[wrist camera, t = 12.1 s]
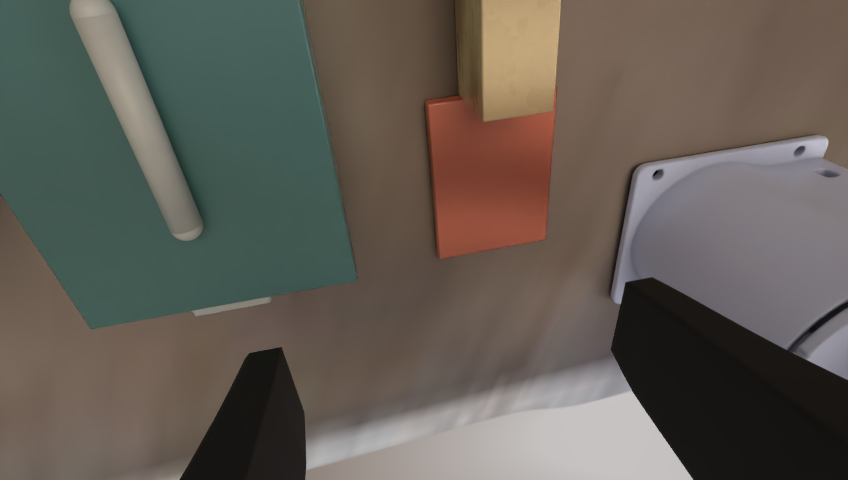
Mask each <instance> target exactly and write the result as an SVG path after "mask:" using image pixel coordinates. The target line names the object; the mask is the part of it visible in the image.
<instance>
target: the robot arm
mask: <svg viewBox="0 0 848 480" xmlns="http://www.w3.org/2000/svg"><path fill="white" fill-rule="evenodd" d="M828 143H829V142H828V139H827V138H826V137H824V136H821V135H812V136H806V137H800V138H794V139H788V140H782V141H776V142H770V143H764V144H758V145H752V146H745V147H739V148H733V149H727V150H721V151H715V152H709V153H703V154H697V155H691V156H685V157H679V158H673V159H667V160H661V161H655V162H649V163H644V164H641V165H640V166H638V167H637V168H636V169H635V171H634V173H633V176H632V182H631V187H630V192H629V198H628V203H627V209H626V214H625V219H624V225H623V230H622V236H621V241H620V246H619V252H618V257H617V262H616V268H615V273H614V279H613V284H612V289H611V299H612V300H613V301H614V302H615V303H616V304H621V305H620V310H619V315H618V319H617V324H616V328H615V333H614V338H613V342H612V347H611V351H612V353H613V355H614V357H615V359H616V361H617V363H618V365H619V367H620V369H621V371H622V373H623V375H624V376H625V378H626V380H627V382H628V384H629V386H630V387H631V389H632V391H633V393H634V394H635V396H636V397H637V399H638V400H639V402H640V403H641V405H642V406H643V408H644V409H645V411H646V412H647V414H648V415H649V416H650V418H651V419H652V421H653V422H654V424H655V425H656V426H657V428H658V430H659V431H660V432H661V434H662V435H663V437H664V438H665V439H666V441H667V442H668V444H669V445H670V447H671V448H672V450H673V451H674V452H675V454H676V455H677V457H678V458H679V460H680V461H681V463H682V464H683V465H684V467H685V468H686V470H687V471H688V472H689V474H690V475H691V477H692V478H693V480H848V169H847V168H844V167H842V166H840V165H837V164H835V163H833V162H831V161H828V160H826V159H824V158H823V156H824V154H825V151H826V149H827V147H828ZM657 170H658V172H657V174H656V175H654V176H653V174H654V172H656V171H657ZM305 474H306V440H305V416H304V410H303V407H302V405H301V402H300V399H299V396H298V393H297V390H296V387H295V384H294V382H293V379H292V376H291V373H290V370H289V367H288V364H287V361H286V359H285V356H284V353H283V350H282V347H279V348H274V349H269V350H263V351H258V352H253V353H249V354H248V356H247V357H246V358H245V360H244V362H243V364H242V366H241V368H240V370H239V372H238V374H237V376H236V378H235V380H234V382H233V384H232V386H231V388H230V390H229V392H228V394H227V396H226V398H225V400H224V402H223V404H222V406H221V407H220V409H219V411H218V413H217V415H216V417H215V419H214V421H213V422H212V424H211V426H210V428H209V430H208V431H207V433H206V435H205V437H204V438H203V440H202V442H201V444H200V445H199V447H198V449H197V451H196V453H195V454H194V456H193V458H192V460H191V461H190V463H189V465H188V466H187V468H186V470H185V471H184V473H183V475H182V476H181V478H180V480H305Z"/></svg>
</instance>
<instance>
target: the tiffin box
mask: <svg viewBox="0 0 848 480" xmlns="http://www.w3.org/2000/svg"><path fill="white" fill-rule="evenodd" d="M0 194H1V195H2V197H3V198H4V200H5V201H6V203H7V204H8V206H9V207H10V209H11V210H12V212H13V213H14V215H15V216H16V218H17V219H18V221H19V222H20V224H21V225H22V227H23V228H24V230H25V231H26V233H27V234H28V236H29V237H30V239H31V240H32V242H33V243H34V245H35V246H36V248H37V249H38V251H39V252H40V254H41V255H42V257H43V258H44V260H45V261H46V263H47V264H48V266H49V267H50V269H51V270H52V272H53V273H54V275H55V276H56V278H57V279H58V281H59V282H60V284H61V285H62V287H63V288H64V290H65V291H66V293H67V294H68V296H69V297H70V299H71V300H72V302H73V303H74V305H75V306H76V308H77V309H78V311H79V312H80V314H81V315H82V317H83V318H84V320H85V321H86V323H87V324H88V326H89V327H90V328H91V329H95V328H101V327H106V326H112V325H117V324H123V323H128V322H134V321H139V320H145V319H150V318H156V317H161V316H167V315H172V314H178V313H183V312H189V311H192V312H193V314H194V316H201V315H207V314H212V313H217V312H223V311H228V310H234V309H239V308H245V307H250V306H256V305H261V304H266V303H270V302H271V301H272V296H276V295H282V294H287V293H293V292H298V291H304V290H309V289H315V288H320V287H326V286H331V285H337V284H342V283H348V282H353V281H357V279H358V278H357V269H356V262H355V257H354V252H353V248H352V243H351V238H350V233H349V228H348V223H347V218H346V213H345V209H344V203H343V196H342V191H341V186H340V181H339V176H338V171H337V166H336V161H335V157H334V152H333V147H332V142H331V137H330V132H329V127H328V122H327V117H326V113H325V108H324V103H323V98H322V93H321V88H320V83H319V78H318V73H317V69H316V64H315V59H314V54H313V49H312V44H311V39H310V34H309V29H308V24H307V20H306V15H305V10H304V5H303V0H0Z"/></svg>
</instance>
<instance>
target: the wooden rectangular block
mask: <svg viewBox="0 0 848 480" xmlns="http://www.w3.org/2000/svg"><path fill="white" fill-rule="evenodd" d="M560 13H561V0H455V22H456V46H457V71H458V94H459V96H452V97H445V98H438V99H431V100H426V101H425V112H426V124H427V136H428V148H429V160H430V172H431V185H432V197H433V209H434V221H435V233H436V245H437V253H438V256H439V258H440V259H442V258H448V257H453V256H459V255H464V254H470V253H475V252H481V251H486V250H492V249H497V248H503V247H508V246H514V245H519V244H525V243H530V242H536V241H541V240H545V239H546V226H547V213H548V200H549V187H550V174H551V160H552V147H553V134H554V121H555V108H556V95H557V86H556V85H555V81H556V67H557V53H558V40H559V26H560Z"/></svg>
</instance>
